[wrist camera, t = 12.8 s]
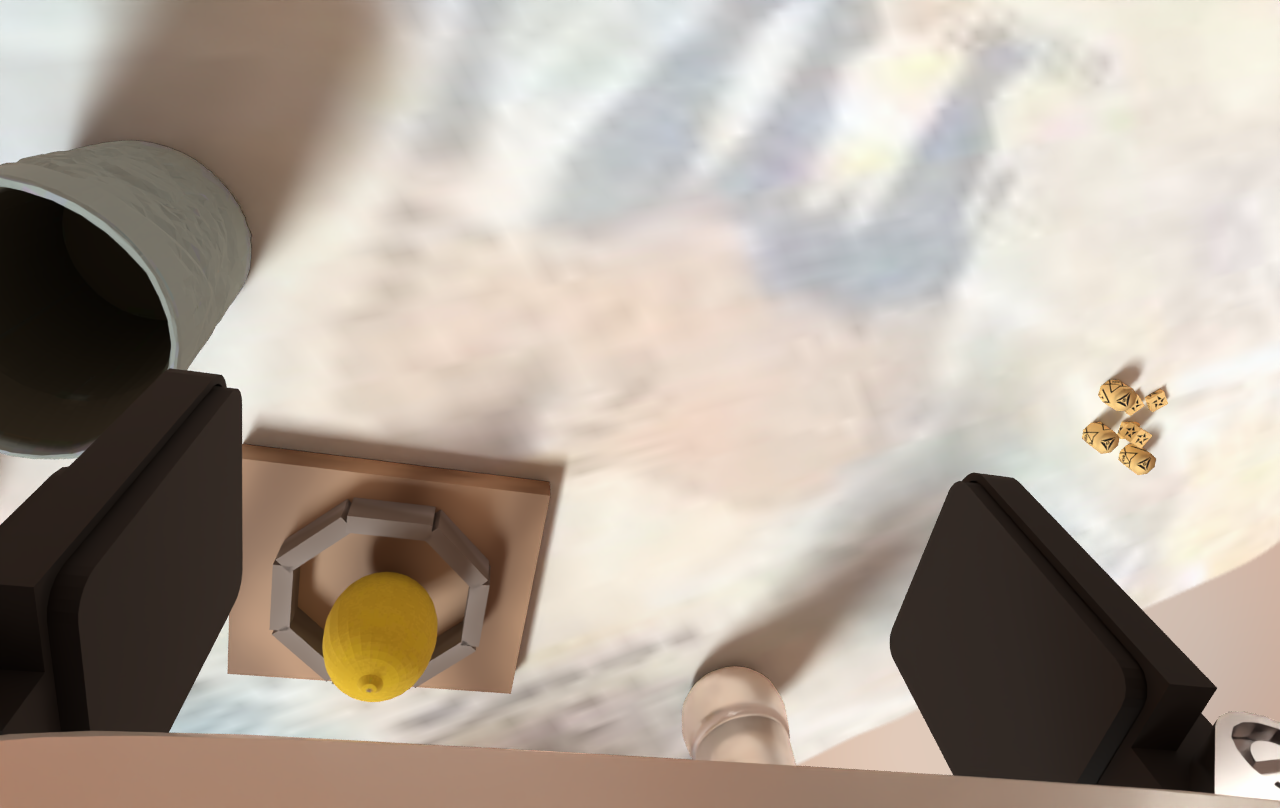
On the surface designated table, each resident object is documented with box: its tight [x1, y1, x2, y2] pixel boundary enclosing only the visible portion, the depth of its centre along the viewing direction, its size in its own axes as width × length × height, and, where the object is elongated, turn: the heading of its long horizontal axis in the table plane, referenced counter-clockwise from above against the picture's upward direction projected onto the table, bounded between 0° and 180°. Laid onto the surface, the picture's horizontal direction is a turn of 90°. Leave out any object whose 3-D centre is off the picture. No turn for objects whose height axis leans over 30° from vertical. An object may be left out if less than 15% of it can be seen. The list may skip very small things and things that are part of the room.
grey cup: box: [0, 140, 252, 459], centre depth 33 cm, size 10×10×12 cm
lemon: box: [322, 572, 438, 702], centre depth 43 cm, size 6×6×8 cm
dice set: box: [1082, 380, 1168, 475], centre depth 49 cm, size 5×5×2 cm
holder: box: [228, 444, 550, 694], centre depth 46 cm, size 16×14×3 cm
